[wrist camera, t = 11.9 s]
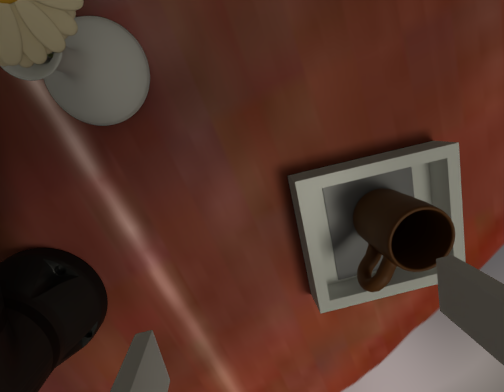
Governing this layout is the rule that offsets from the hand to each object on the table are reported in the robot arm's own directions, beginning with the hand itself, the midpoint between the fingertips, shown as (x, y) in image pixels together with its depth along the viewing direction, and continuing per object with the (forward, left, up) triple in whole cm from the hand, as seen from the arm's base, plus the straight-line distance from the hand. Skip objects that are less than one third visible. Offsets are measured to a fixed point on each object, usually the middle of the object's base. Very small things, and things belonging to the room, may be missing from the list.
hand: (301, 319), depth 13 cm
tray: (+15, -8, -27) cm, 31 cm away
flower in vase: (-13, +18, -27) cm, 35 cm away
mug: (+14, -8, -26) cm, 30 cm away
